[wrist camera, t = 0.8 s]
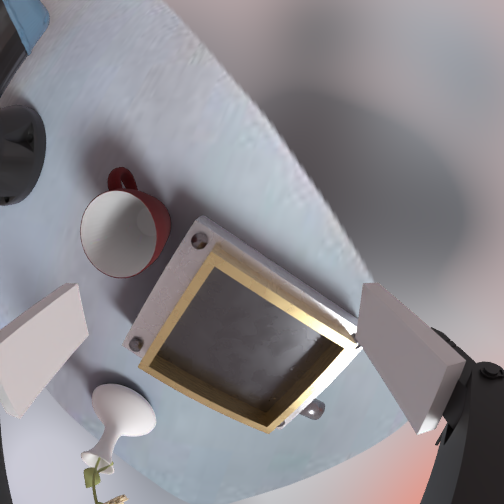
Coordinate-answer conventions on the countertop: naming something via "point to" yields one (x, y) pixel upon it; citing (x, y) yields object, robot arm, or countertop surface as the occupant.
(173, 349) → the gold rimmed tray box
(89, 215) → the mug
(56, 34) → the countertop surface
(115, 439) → the flower in vase
